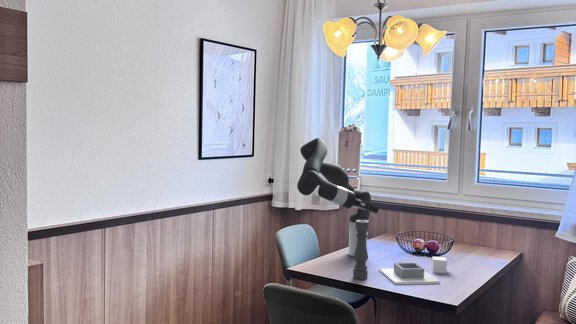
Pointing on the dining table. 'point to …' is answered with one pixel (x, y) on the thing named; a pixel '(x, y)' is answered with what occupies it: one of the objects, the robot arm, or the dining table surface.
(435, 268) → the white cube
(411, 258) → the dining table surface
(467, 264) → the dining table surface
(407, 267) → the collar board
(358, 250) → the candle holder
